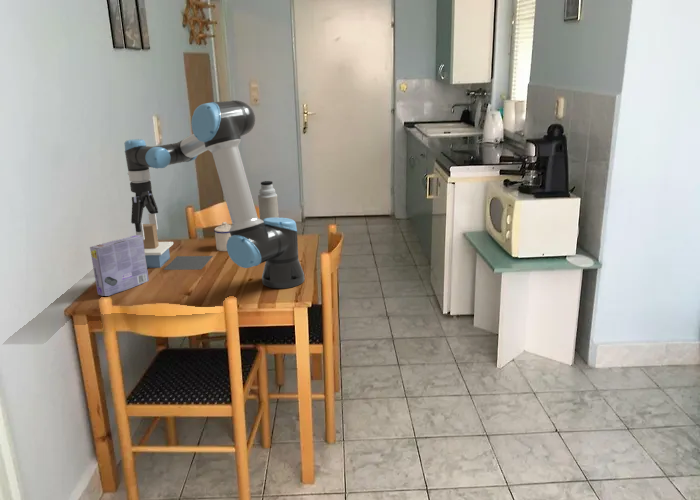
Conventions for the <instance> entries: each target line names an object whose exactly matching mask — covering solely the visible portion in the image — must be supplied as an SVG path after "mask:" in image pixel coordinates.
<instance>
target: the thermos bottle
mask: <svg viewBox="0 0 700 500" xmlns="http://www.w3.org/2000/svg"><path fill="white" fill-rule="evenodd" d="M257 200H258V213H259V214H258V215H259V219H261V220H264V219H266V218H280V217H279V202H278V194H277V193H276V189H275V188H274V185H273V181H271V180H264V181H261V182H260V189H259V192H258V195H257Z"/></svg>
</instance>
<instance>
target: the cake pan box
mask: <svg viewBox="0 0 700 500" xmlns="http://www.w3.org/2000/svg"><path fill="white" fill-rule="evenodd" d="M89 250H90V256H91V261H92V262H91V263H92V268H93V273H94V280H95V285H96V291H97V292H96V293H97V295H98V296H101V297H103V296H108V297H109V296H112V295H115V294H118V293H121V292H125V291H127V290H130V289H134V288H135V287H138V286H140V285H143V284H144V283H148V282H149V272H148V268H147V265H146V258H145V251H144V243H143V237H142V236H139V235H136V234H134V235H130V236H127V237H122V238H119V239H115V240H111V241H108V242H103V243H101V244H96V245H92V246H90V247H89Z"/></svg>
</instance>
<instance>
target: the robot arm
mask: <svg viewBox="0 0 700 500" xmlns="http://www.w3.org/2000/svg"><path fill="white" fill-rule="evenodd" d="M254 112H255V111H254V110H253V109H252V107H251V106H250V104H248V103H246V102H244V101H240V100H230V101H229V100H227V101H211V102H206V103H202V104H200V105H198V106H197V107H196V108H195V109H194V111H193V115H192V116H191V130H192V134H190V135H189V136H187V137H185V138H183V139H182V140H179V141H178V142H174V143H168V144H161V145H154V146H147V144H146V140H144V139H142V138H141V139H139V138H136V139H129V140H126V141H125V142H124V154H125V160H126V167H127V171H128V172H127V175H128V179H129V181H130V183H129V187H130V192H131V193H133V194H135V196H131V219H130V221H131V222H130V223H131V224H132V225H133V224H134V230H135V235H139V236H142V237H143V240H144V239H145V237H144V230H143V224H144V223H143V222H142V218H143V213H144V208H146V210H147V212H148V220H149V224H156V230H157V231H158V230H159V228H158V222H157V219H158V218H157V214H158V213H159V209H158V206H157V203H156V200H155V198H154V195H153V190H152V181H151V173H150V168H153V169H157V170H158V169H164V168H166V167H167V166H170V165H175V164H181V163H189V162H191V161H195V160H196V159H197V157H199V155H201V154H203V153H204V152H207V151H209V152H210V153H211V154H212V157H213V161H214V164H215V168H216V170H217V171H216V172H217V175H218V178H219V182H220V185H221V190H222V192H223V195H224V200H225V203H226V206H227V211H228V213H229V217H230V220H231V228H230V230H229V231H230V234H231V237H230V238H229V239H228V241H227V251H226V252H227V254H228V256H229V258H230V260H232V262H233V263H234V264H236V265H237V266H238V267H240V268H245V269H249V268H252V267H257V266H259V265H261V264H263V263H264V267H263V271H262V276H261V281H262V283H261V284H262V285H263V286H265V287H266V288H267V287H268V288H272V289H290V288H294V287H297V286H299V285H301V284H303V283H305V273H304V270H303V267H302V265H301V262H300V259H299V247H298V246H299V245H298V243H299V242H298V228H297V223H296V221H295V220H294V219H292V218H288V217H279V218H266V219H264V220H261V219H260V217H258V214H257V209H256V207H255V204H254V200H253V196H252V192H251V188H250V185H249V180H248V177H247V174H246V170H245V167H244V164H243V163H244V162H243V159H242V155H241V151H240V149H239V145H240V143H241V142H242V139H241V137H242V136H243V137H244V136H246V135H248V134H249V133H251V131H252V130H253V129H254V128H255V123H256V115H255V113H254Z"/></svg>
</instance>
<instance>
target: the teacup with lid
mask: <svg viewBox="0 0 700 500" xmlns="http://www.w3.org/2000/svg"><path fill="white" fill-rule="evenodd" d="M231 226H232V224H229V223H228V222H227V221H223V222H222V223H221V224H220V225H219V226H216V227H215V228H214V230H213V232H214V236H215V237H214V238H215V245H216V250H217V251H219V252H227V241H228V239H229V238H230V237H231V234H230V231H229V230H230V228H231Z"/></svg>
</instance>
